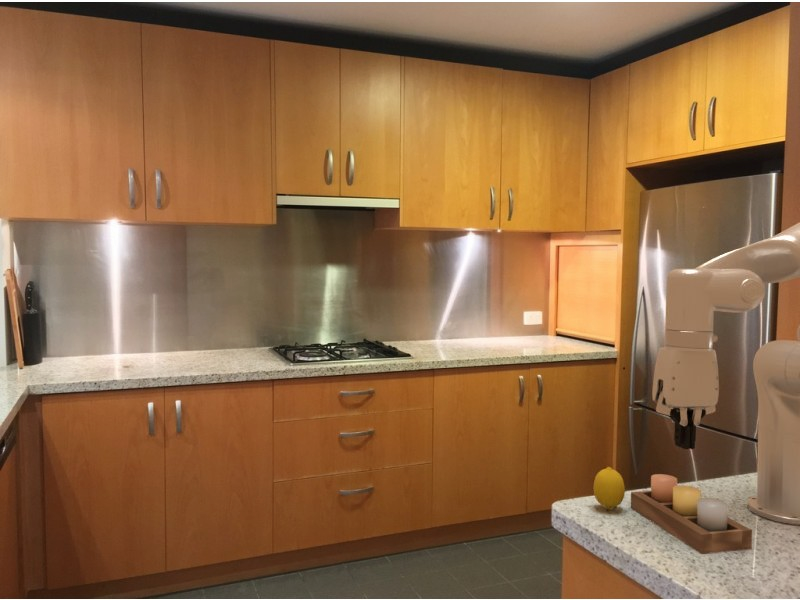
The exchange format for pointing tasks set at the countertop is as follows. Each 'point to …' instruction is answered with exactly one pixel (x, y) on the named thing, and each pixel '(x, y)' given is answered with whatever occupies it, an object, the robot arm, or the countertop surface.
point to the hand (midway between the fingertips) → (684, 446)
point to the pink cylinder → (662, 487)
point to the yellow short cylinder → (685, 500)
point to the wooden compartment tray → (691, 526)
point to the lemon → (609, 488)
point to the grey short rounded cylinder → (712, 514)
